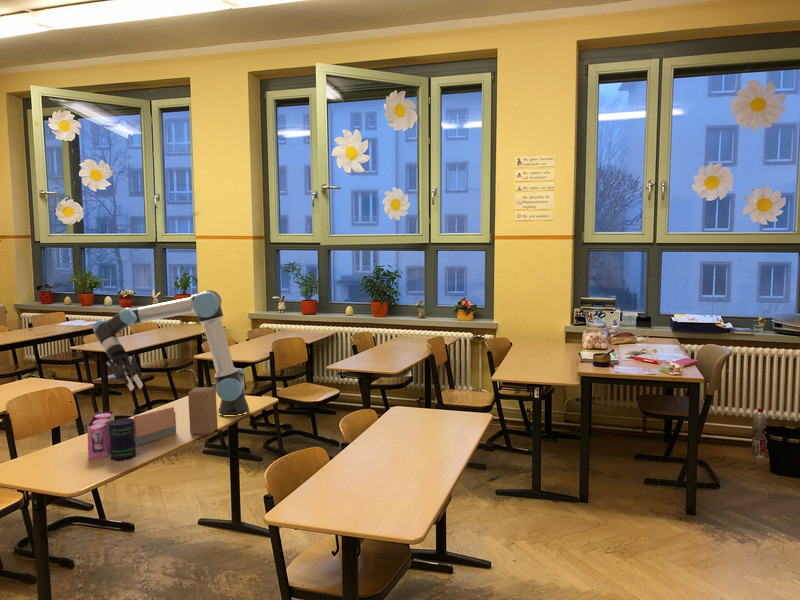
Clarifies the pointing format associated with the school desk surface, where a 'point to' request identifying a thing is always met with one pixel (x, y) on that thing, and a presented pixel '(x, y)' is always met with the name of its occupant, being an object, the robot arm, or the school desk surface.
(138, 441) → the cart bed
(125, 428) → the storage jar
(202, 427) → the wooden block
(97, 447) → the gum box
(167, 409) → the panel
